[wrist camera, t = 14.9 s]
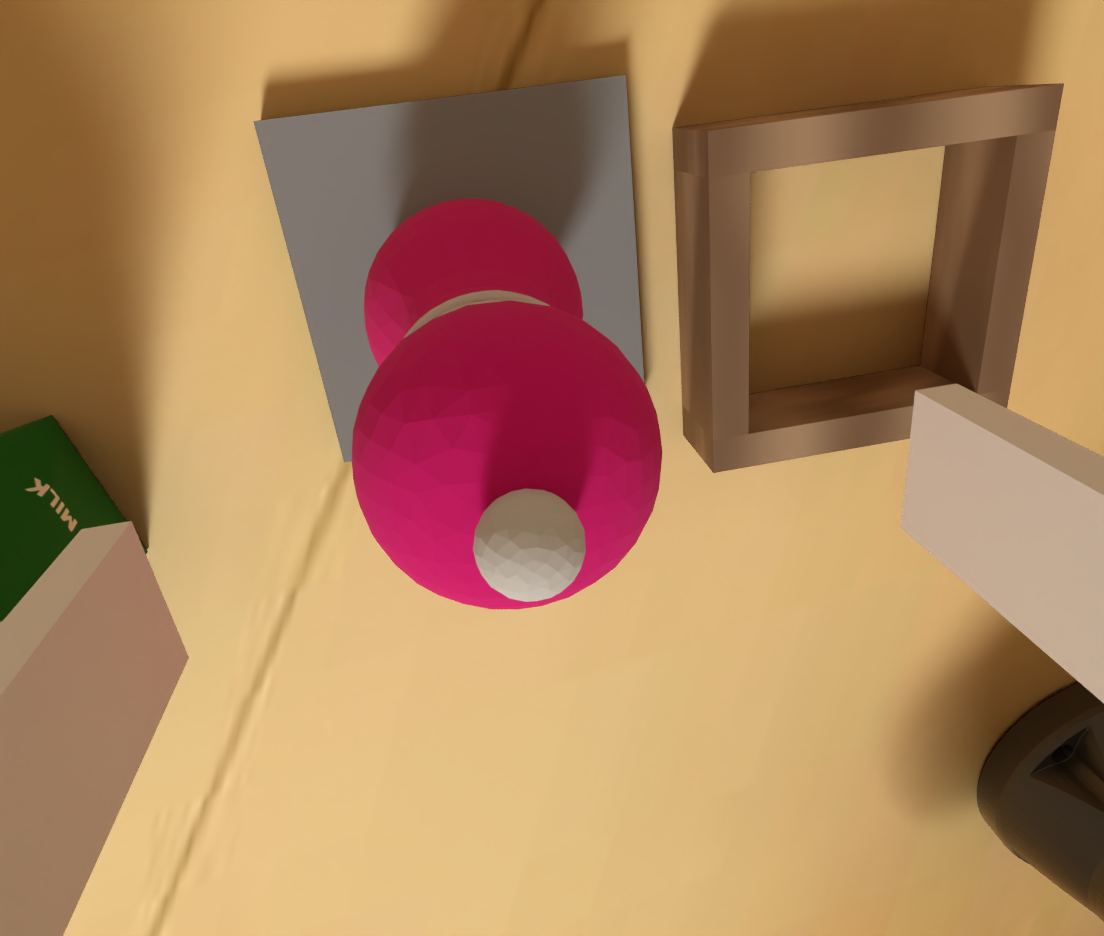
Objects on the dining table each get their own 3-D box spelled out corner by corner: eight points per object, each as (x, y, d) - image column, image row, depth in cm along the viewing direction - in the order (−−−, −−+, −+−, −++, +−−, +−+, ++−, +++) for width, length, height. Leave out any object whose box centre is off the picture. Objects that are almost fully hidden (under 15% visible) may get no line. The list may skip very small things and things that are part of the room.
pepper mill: (359, 189, 27) (227, 355, 9) (558, 182, 28) (800, 317, 10) (384, 381, 30) (323, 785, 12) (561, 368, 31) (749, 727, 13)
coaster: (618, 76, 27) (625, 74, 26) (638, 402, 33) (646, 411, 32) (260, 120, 26) (253, 121, 25) (346, 450, 32) (344, 462, 31)
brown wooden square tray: (987, 86, 30) (1064, 83, 26) (946, 390, 36) (1004, 421, 32) (672, 128, 29) (708, 130, 25) (683, 435, 34) (713, 472, 31)
